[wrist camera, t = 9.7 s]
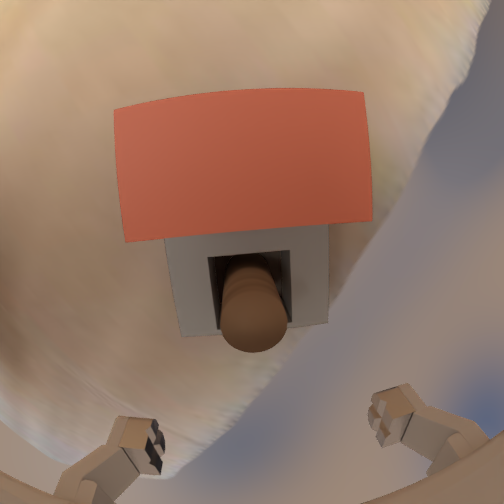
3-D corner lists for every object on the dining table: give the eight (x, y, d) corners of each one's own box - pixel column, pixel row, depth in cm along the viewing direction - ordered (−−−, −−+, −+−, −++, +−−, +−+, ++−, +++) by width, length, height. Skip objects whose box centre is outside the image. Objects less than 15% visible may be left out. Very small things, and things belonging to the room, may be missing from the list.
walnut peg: (223, 253, 26) (216, 297, 16) (267, 249, 26) (286, 290, 16) (227, 294, 27) (224, 355, 17) (270, 290, 27) (288, 348, 17)
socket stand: (189, 310, 27) (164, 395, 15) (169, 139, 23) (114, 109, 11) (313, 298, 27) (359, 375, 16) (305, 128, 23) (363, 92, 12)
